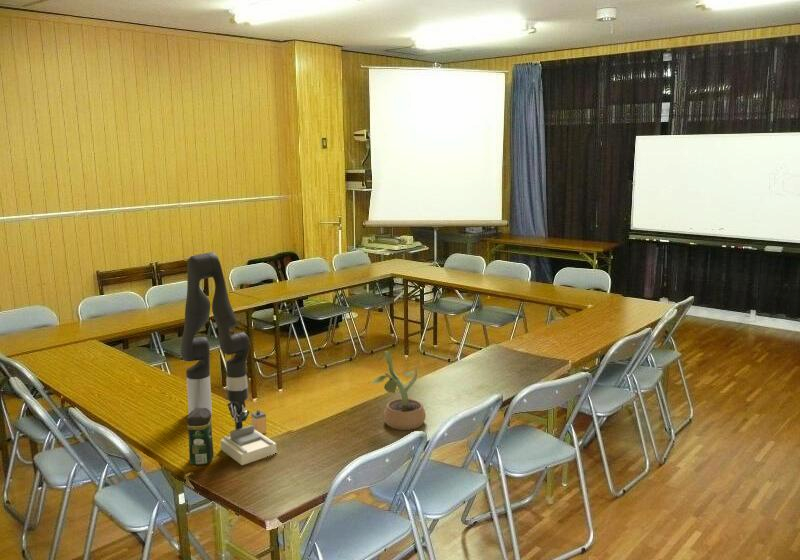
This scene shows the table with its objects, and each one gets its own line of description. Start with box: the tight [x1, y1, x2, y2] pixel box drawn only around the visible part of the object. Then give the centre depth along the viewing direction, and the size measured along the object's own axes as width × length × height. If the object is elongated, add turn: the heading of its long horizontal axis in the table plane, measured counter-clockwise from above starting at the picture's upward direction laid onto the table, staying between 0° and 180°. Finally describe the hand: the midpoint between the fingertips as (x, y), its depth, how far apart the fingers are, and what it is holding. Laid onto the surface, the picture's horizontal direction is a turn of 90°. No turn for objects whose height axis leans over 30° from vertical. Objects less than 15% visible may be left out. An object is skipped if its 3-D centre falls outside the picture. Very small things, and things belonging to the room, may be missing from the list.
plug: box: [250, 409, 267, 434], centre depth 265 cm, size 4×4×9 cm
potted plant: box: [370, 350, 427, 431], centre depth 274 cm, size 22×18×30 cm
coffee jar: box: [186, 408, 214, 466], centre depth 242 cm, size 10×8×19 cm
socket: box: [220, 429, 278, 466], centre depth 250 cm, size 16×14×5 cm
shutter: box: [229, 424, 261, 445], centre depth 250 cm, size 6×9×3 cm
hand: (239, 430), depth 254 cm, fingers closed
